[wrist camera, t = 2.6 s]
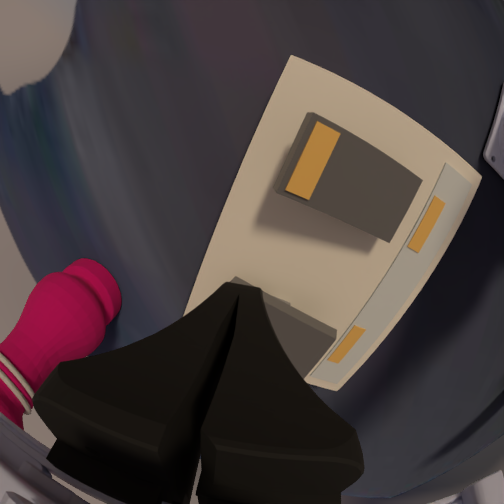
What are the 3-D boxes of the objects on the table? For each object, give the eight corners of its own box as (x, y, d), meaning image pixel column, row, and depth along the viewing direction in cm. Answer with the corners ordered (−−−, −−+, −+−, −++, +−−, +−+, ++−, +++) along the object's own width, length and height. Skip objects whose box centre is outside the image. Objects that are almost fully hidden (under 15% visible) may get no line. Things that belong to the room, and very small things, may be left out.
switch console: (462, 170, 15) (487, 178, 12) (334, 370, 23) (337, 396, 20) (290, 66, 14) (291, 51, 11) (186, 316, 22) (174, 340, 19)
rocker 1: (337, 329, 16) (336, 340, 15) (304, 370, 17) (302, 381, 16) (235, 275, 17) (228, 283, 16) (214, 322, 18) (207, 331, 17)
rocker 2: (412, 175, 13) (423, 180, 12) (381, 235, 15) (390, 244, 14) (306, 112, 11) (314, 112, 10) (272, 187, 13) (276, 193, 12)
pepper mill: (123, 332, 24) (18, 501, 6) (66, 300, 24) (-51, 434, 5) (132, 273, 21) (-29, 476, 3) (67, 240, 21) (-98, 379, 2)
